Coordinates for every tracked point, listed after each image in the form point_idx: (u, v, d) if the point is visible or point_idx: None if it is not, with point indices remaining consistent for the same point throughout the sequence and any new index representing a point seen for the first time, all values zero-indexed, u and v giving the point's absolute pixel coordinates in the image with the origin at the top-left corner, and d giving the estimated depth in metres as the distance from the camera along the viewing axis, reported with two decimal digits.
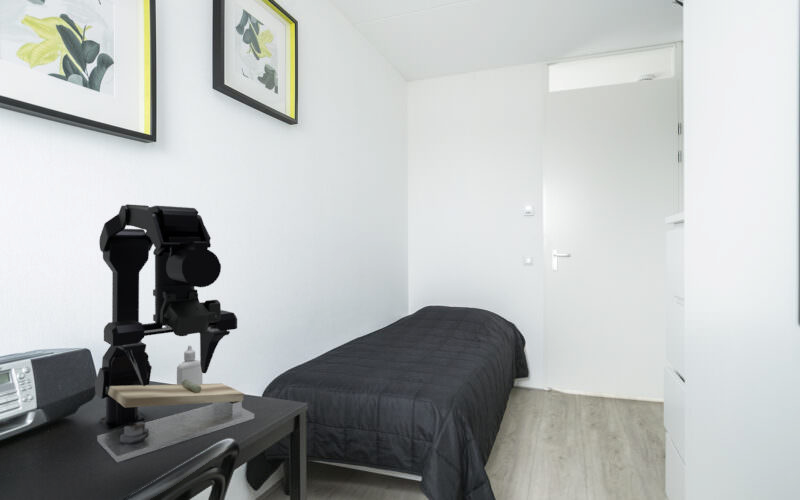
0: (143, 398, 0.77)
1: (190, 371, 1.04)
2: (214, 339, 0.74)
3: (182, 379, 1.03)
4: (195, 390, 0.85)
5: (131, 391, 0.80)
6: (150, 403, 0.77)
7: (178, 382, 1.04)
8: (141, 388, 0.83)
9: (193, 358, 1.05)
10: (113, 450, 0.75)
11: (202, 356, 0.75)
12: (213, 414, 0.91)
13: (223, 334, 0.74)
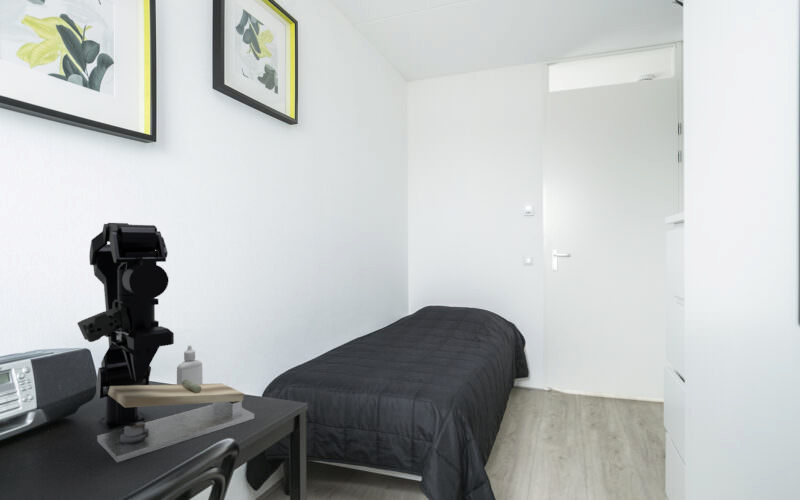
0: (143, 398, 0.77)
1: (190, 371, 1.04)
2: (126, 350, 0.76)
3: (182, 379, 1.03)
4: (195, 390, 0.85)
5: (131, 391, 0.80)
6: (150, 403, 0.77)
7: (178, 382, 1.04)
8: (141, 388, 0.83)
9: (193, 358, 1.05)
10: (113, 450, 0.75)
11: None
12: (213, 414, 0.91)
13: (124, 348, 0.75)
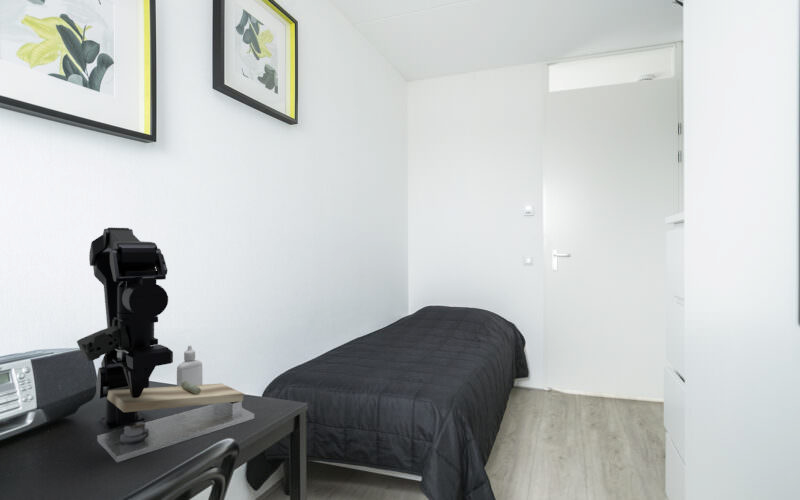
0: (142, 402, 0.77)
1: (190, 371, 1.04)
2: (124, 368, 0.77)
3: (182, 379, 1.03)
4: (194, 392, 0.85)
5: (130, 395, 0.80)
6: (149, 407, 0.77)
7: (178, 382, 1.04)
8: None
9: (193, 358, 1.05)
10: (113, 450, 0.75)
11: None
12: (213, 414, 0.91)
13: (122, 366, 0.75)
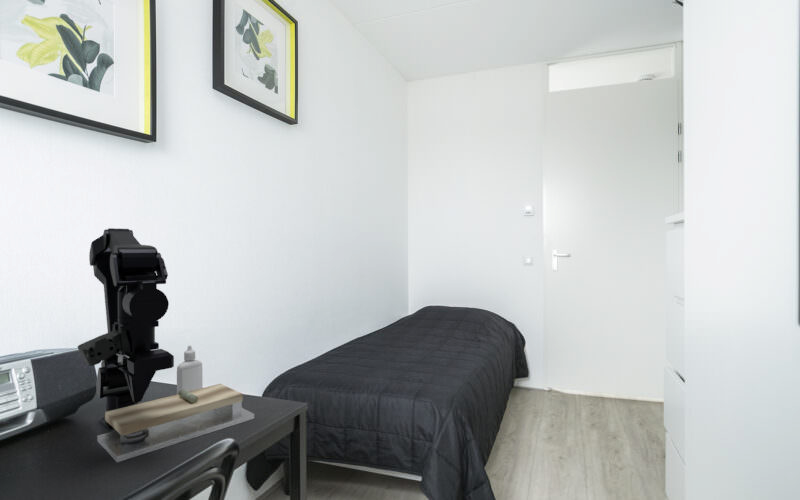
0: (139, 422, 0.76)
1: (190, 371, 1.04)
2: (125, 372, 0.77)
3: (182, 379, 1.03)
4: (192, 401, 0.85)
5: (126, 415, 0.79)
6: (147, 425, 0.77)
7: (178, 382, 1.04)
8: (137, 408, 0.82)
9: (193, 358, 1.05)
10: (113, 450, 0.75)
11: None
12: (213, 414, 0.91)
13: (123, 370, 0.75)
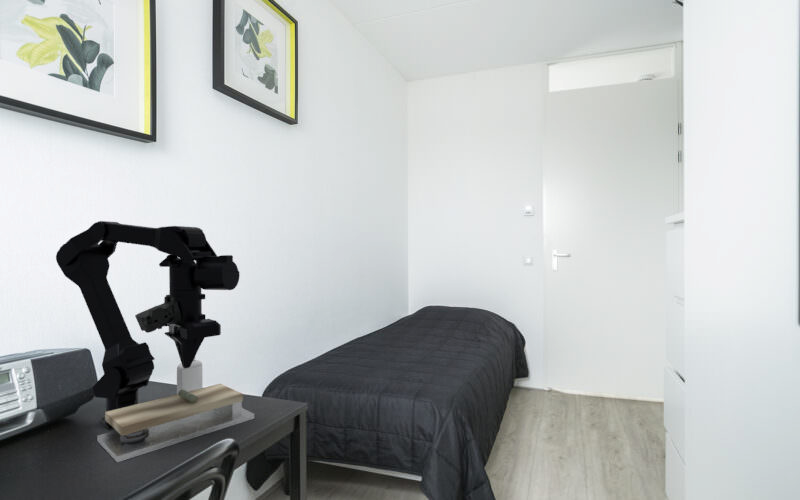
0: (139, 422, 0.76)
1: (190, 371, 1.04)
2: (176, 340, 0.84)
3: (182, 379, 1.03)
4: (192, 401, 0.85)
5: (126, 415, 0.79)
6: (147, 425, 0.77)
7: (178, 382, 1.04)
8: (137, 408, 0.82)
9: None
10: (113, 450, 0.75)
11: None
12: (213, 414, 0.91)
13: (175, 338, 0.83)
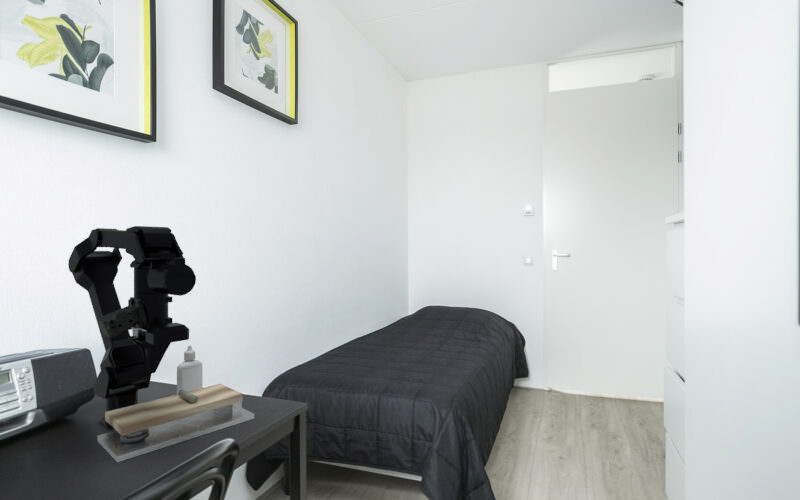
0: (139, 422, 0.76)
1: (190, 371, 1.04)
2: (141, 345, 0.81)
3: (182, 379, 1.03)
4: (192, 401, 0.85)
5: (126, 415, 0.79)
6: (147, 425, 0.77)
7: (178, 382, 1.04)
8: (137, 408, 0.82)
9: (193, 358, 1.05)
10: (113, 450, 0.75)
11: None
12: (213, 414, 0.91)
13: (140, 342, 0.80)
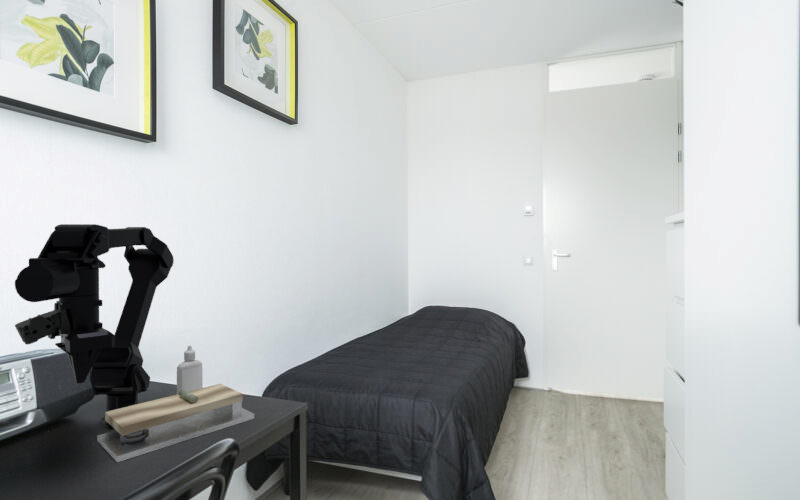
0: (139, 422, 0.76)
1: (190, 371, 1.04)
2: None
3: (182, 379, 1.03)
4: (192, 401, 0.85)
5: (126, 415, 0.79)
6: (147, 425, 0.77)
7: (178, 382, 1.04)
8: (137, 408, 0.82)
9: (193, 358, 1.05)
10: (113, 450, 0.75)
11: None
12: (213, 414, 0.91)
13: None
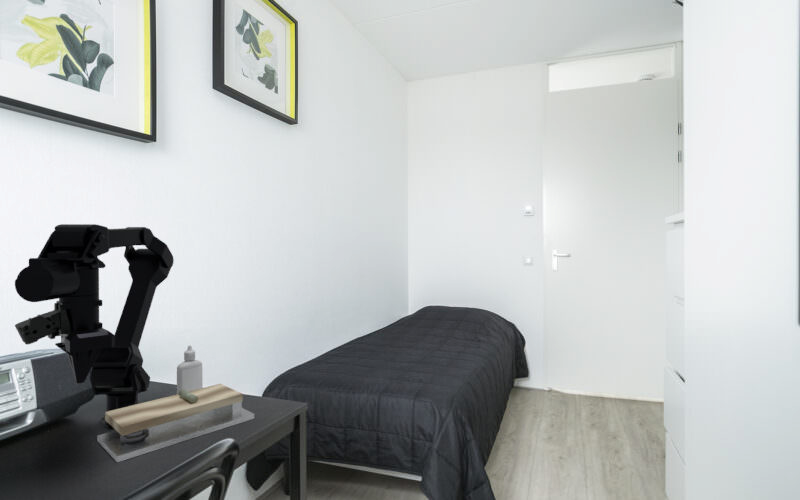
0: (139, 422, 0.76)
1: (190, 371, 1.04)
2: None
3: (182, 379, 1.03)
4: (192, 401, 0.85)
5: (126, 415, 0.79)
6: (147, 425, 0.77)
7: (178, 382, 1.04)
8: (137, 408, 0.82)
9: (193, 358, 1.05)
10: (113, 450, 0.75)
11: None
12: (213, 414, 0.91)
13: None
